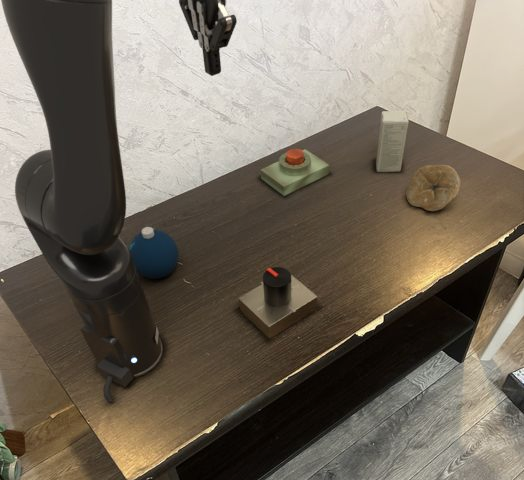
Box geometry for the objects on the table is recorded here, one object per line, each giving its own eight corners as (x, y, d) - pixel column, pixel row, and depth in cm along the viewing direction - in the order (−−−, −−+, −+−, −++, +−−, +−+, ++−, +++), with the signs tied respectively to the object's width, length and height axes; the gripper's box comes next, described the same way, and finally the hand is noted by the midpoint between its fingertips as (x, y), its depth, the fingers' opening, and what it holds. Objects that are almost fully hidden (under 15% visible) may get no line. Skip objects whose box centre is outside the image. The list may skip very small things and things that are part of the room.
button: (293, 168, 102) (293, 160, 101) (282, 160, 104) (282, 152, 103) (307, 161, 103) (307, 153, 102) (296, 154, 105) (296, 146, 104)
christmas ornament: (145, 253, 94) (132, 209, 86) (188, 259, 92) (178, 214, 84) (128, 285, 89) (112, 240, 81) (173, 291, 87) (161, 246, 79)
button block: (284, 196, 102) (283, 178, 99) (261, 178, 107) (260, 161, 103) (328, 174, 106) (329, 157, 103) (304, 158, 111) (305, 141, 107)
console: (270, 340, 79) (269, 327, 77) (238, 309, 84) (237, 296, 81) (318, 310, 83) (318, 296, 80) (285, 282, 87) (284, 268, 85)
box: (399, 160, 108) (408, 110, 99) (400, 172, 106) (410, 121, 97) (374, 160, 109) (381, 110, 100) (375, 172, 106) (382, 121, 97)
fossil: (416, 160, 98) (467, 165, 92) (423, 168, 102) (472, 174, 96) (400, 204, 99) (449, 213, 93) (407, 211, 103) (455, 220, 97)
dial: (297, 297, 81) (297, 275, 77) (276, 311, 79) (275, 289, 75) (278, 283, 83) (278, 261, 79) (258, 296, 81) (257, 274, 77)
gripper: (151, -66, 70) (173, 66, 84) (201, -46, 63) (216, 94, 77) (197, -76, 73) (211, 54, 86) (249, -58, 66) (255, 80, 79)
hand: (213, 73), depth 81 cm, fingers closed
